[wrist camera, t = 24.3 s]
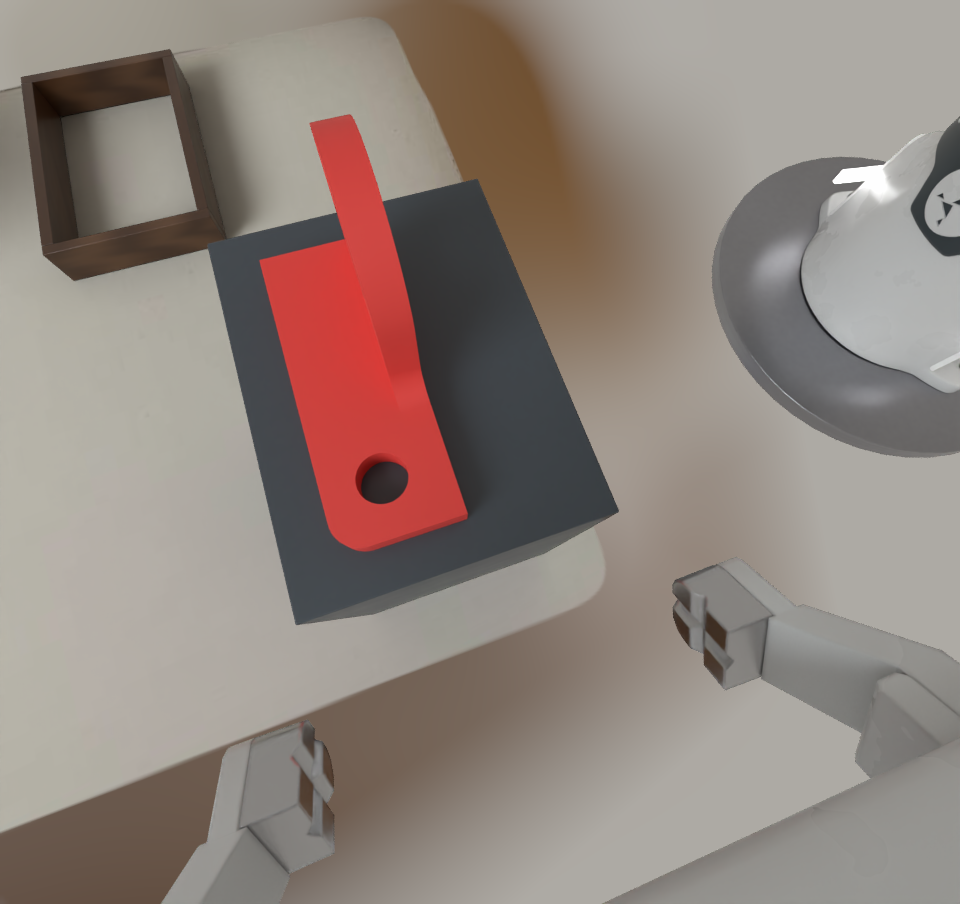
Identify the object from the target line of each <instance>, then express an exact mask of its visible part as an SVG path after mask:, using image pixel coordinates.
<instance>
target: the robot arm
mask: <svg viewBox="0 0 960 904" xmlns="http://www.w3.org/2000/svg"><path fill="white" fill-rule="evenodd" d="M865 180H866V181H865ZM856 181H865V182H864V183H863V184H862V185H861V186H860V187H859V188H858V189H857V190H855V191H845V192H837V193H834V194H832V195H831V196H830V197H829V198H828V199H827V200H825V201H824V202H823V203H822V205H821V208H820V213H819V228H818V230H817V232H816V234H815V235H814V237H813V238H812V240H811V241H810V243H809V244H808V246H807V248H806V250H805V253H804V256H803V260H802V266H801V279H802V285H803V290H804V293H805V296H806V299H807V301H808V303H809V306H810V308H811V309H812V311H813V313H814V314H815V316H816V318H817V319H818V320H819V322H820V323H821V324H822V326H823V327H824V328H825V329H826V330H827V331H828V332H829V333H830V334H831V335H832V336H833V337H834V338H835V339H836V340H837V341H838V342H839V343H841V344H842V345H843V346H845V347H846V348H847V349H849V350H850V351H852V352H853V353H855V354H857V355H859V356H860V357H862V358H864V359H866V360H869V361H871V362H873V363H876V364H879V365H882V366H885V367H889V368H892V369H896V370H900V371H904V372H907V373H910V374H912V375H914V376H916V377H917V378H919V379H920V380H922V381H923V382H925V383H927V384H928V385H930V386H932V387H933V388H935V389H937V390H939V391H942V392H945V393H954V392H956V391H958V390H960V117H959V118H958V119H957V120H956V121H954V123H952V124H951V125H950V126H949V127H948V128H947V130H946V131H936V132H932V133H929V134H924V133H923V134H920V135H918V136H917V137H915V138H914V139H912V140H911V141H910V142H908V143H907V144H906V145H905V146H904V147H903V148H902V149H901V150H899V151H898V152H897V153H896V154H895V155H894V156H893V157H892V158H891V159H890V160H888V161H887V162H886V163H885V164H884V165H883V166H874V167H864V168H855V169H846V170H842V171H841V172H840V173H839V175H838V176H837V177H836V178H835V179H834V180H833V182H834V184H838V183H847V182H856ZM673 594H674V595H675V596H676V597H677V599H678V600H677V601H676V603H675V604H674V606H673V618H674V621H675V624H676V626H677V629H678V631H679V633H680V634H681V636H682V638H683V639H684V640H685V642H686V643H687V644H688V646H689V647H690V648H691V649H694V650H696V651H698V652H700V653H703V654H704V666H705V667H706V668H707V669H708V670H709V672H710V673H711V674H712V675H713V676H714V678H715V679H716V680H717V681H718V683H719V684H720V685H721V686H722V687H723V689H725V690H727V689H730V688H732V687H735V686H738V685H741V684H743V683H746V682H748V681H751V680H754V679H756V678H759V677H761V676H762V677H761V679H763V680H764V681H766V682H768V683H770V684H772V685H773V686H775V687H777V688H779V689H781V690H783V691H784V692H786V693H789V694H790V695H792V696H794V697H796V698H798V699H799V700H801V701H803V702H805V703H807V704H809V705H810V706H812V707H814V708H816V709H818V710H820V711H822V712H823V713H825V714H827V715H829V716H831V717H833V718H834V719H837V720H838V721H840V722H842V723H844V724H846V725H848V726H849V727H851V728H853V729H855V730H857V731H859V732H860V733H861V737H860V740H859V743H858V747H857V750H856V753H855V762H856V763H857V764H858V765H859V766H860V767H861V768H862V770H863V771H864V772H865V773H866V774H867V775H868V776H869V777H870V778H871V779H869V780H867V781H865V782H863V783H860V784H858V785H856V786H854V787H852V788H850V789H847V790H845V791H843V792H841V793H839V794H837V795H835V796H833V797H830V798H828V799H826V800H824V801H822V802H820V803H817V804H815V805H813V806H811V807H809V808H807V809H804V810H802V811H800V812H798V813H796V814H794V815H792V816H789V817H788V818H785V819H783V820H781V821H779V822H777V823H774V824H772V825H770V826H768V827H766V828H764V829H762V830H759V831H758V832H755V833H753V834H751V835H749V836H746V837H744V838H742V839H740V840H738V841H736V842H734V843H732V844H729V845H728V846H725V847H723V848H721V849H719V850H716V851H715V852H712V853H710V854H708V855H706V856H704V857H701V858H699V859H697V860H695V861H693V862H691V863H688V864H686V865H684V866H682V867H680V868H678V869H676V870H674V871H671V872H669V873H667V874H665V875H663V876H661V877H658V878H656V879H654V880H652V881H650V882H648V883H646V884H643V885H641V886H639V887H637V888H635V889H633V890H631V891H629V892H626V893H624V894H622V895H620V896H618V897H615V898H613V899H611V900H609V901H607V902H605V903H603V904H960V663H958V662H957V661H956V660H954V659H953V658H952V657H950V656H949V655H947V654H946V653H945V652H943V651H942V650H939V649H936V648H933V647H930V646H927V645H924V644H921V643H918V642H915V641H911V640H908V639H905V638H903V637H900V636H897V635H894V634H891V633H888V632H885V631H882V630H879V629H876V628H873V627H870V626H867V625H864V624H860V623H858V622H855V621H852V620H849V619H846V618H843V617H840V616H837V615H834V614H831V613H828V612H825V611H822V610H819V609H815V608H813V607H810V606H806V605H800V606H796V605H795V604H794V603H792V602H791V601H790V600H789V599H788V598H786V597H785V596H784V595H783V594H782V593H781V592H779V591H778V590H777V589H776V588H775V587H774V586H772V585H771V584H770V583H769V582H768V581H767V580H765V579H764V578H763V577H762V576H761V575H760V574H758V573H757V572H756V571H755V570H754V569H752V568H751V567H750V566H749V565H748V564H747V563H745V562H744V561H743V560H742V559H740V558H737V557H735V558H732V559H729V560H727V561H724V562H721V563H719V564H716V565H712V566H710V567H707V568H704V569H702V570H699V571H697V572H694V573H692V574H689V575H687V576H684V577H681V578H679V579H677V580H675V581H674V583H673ZM314 734H315V729H314V727H313V726H312V725H311V723H310V722H309V720H305V721H302V722H299V723H296V724H294V725H291V726H288V727H285V728H282V729H279V730H277V731H273V732H270V733H268V734H265V735H262V736H259V737H256V738H253V739H251V740H248V741H245V742H242V743H240V744H237V745H234V746H232V747H229V748H228V749H227V751H226V753H225V755H224V757H223V760H222V766H221V771H220V776H219V781H218V786H217V792H216V798H215V803H214V807H213V813H212V818H211V823H210V829H209V834H208V839H207V843H205V844H202V845H200V846H198V848H197V849H196V851H195V852H194V854H193V855H192V857H191V858H190V860H189V862H188V863H187V865H186V866H185V868H184V869H183V871H182V872H181V874H180V875H179V877H178V878H177V880H176V881H175V883H174V885H173V886H172V888H171V889H170V891H169V892H168V894H167V895H166V897H165V898H164V900H163V901H162V903H161V904H279V902H280V900H281V897H282V895H283V893H284V890H285V888H286V886H287V883H288V881H289V878H290V875H289V873H292V872H294V871H296V870H298V869H300V868H303V867H305V866H307V865H309V864H311V863H314V862H316V861H318V860H321V859H323V858H325V857H327V856H330V855H331V854H334V814H333V812H332V811H331V809H330V808H329V807H328V805H327V803H328V801H329V799H330V797H331V795H332V793H333V791H334V779H333V778H334V777H333V770H332V764H331V759H330V756H329V753H328V750H327V748H326V746H325V745H324V743H323V742H322V741H319V740H315V739H314Z"/></svg>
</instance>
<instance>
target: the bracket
mask: <svg viewBox="0 0 960 904" xmlns="http://www.w3.org/2000/svg"><path fill="white" fill-rule="evenodd" d="M310 127H311V130H312V133H313V137H314V140H315V143H316V147H317V150H318V153H319V157H320V160H321V163H322V166H323V170H324V173H325V176H326V179H327V183H328V186H329V189H330V192H331V196H332V199H333V202H334V205H335V209H336V212H337V215H338V218H339V222H340V225H341V228H342V231H343V235H344V238H345V239H343V240H339V241H335V242H331V243H327V244H323V245H319V246H315V247H311V248H307V249H303V250H299V251H294V252H290V253H286V254H282V255H278V256H274V257H270V258H266V259H262V260H259V261H260V265H261V269H262V273H263V277H264V280H265V284H266V288H267V292H268V296H269V300H270V304H271V307H272V311H273V315H274V319H275V323H276V327H277V331H278V335H279V338H280V342H281V346H282V350H283V354H284V358H285V362H286V365H287V369H288V373H289V377H290V381H291V385H292V389H293V392H294V396H295V400H296V404H297V408H298V412H299V416H300V419H301V423H302V427H303V431H304V435H305V439H306V443H307V446H308V450H309V454H310V458H311V462H312V466H313V470H314V473H315V477H316V481H317V485H318V489H319V493H320V497H321V500H322V504H323V508H324V512H325V516H326V520H327V524H328V527H329V529H330V532H331V533H332V535H333V536H334V537H335V538H336V539H337V540H338V541H339V542H340V543H342V544H344V545H346V546H348V547H350V548H351V549H354V550H357V551H364V552H366V551H373V550H376V549H379V548H382V547H385V546H388V545H391V544H394V543H397V542H400V541H403V540H406V539H409V538H412V537H415V536H418V535H421V534H424V533H427V532H430V531H433V530H436V529H439V528H442V527H445V526H448V525H451V524H454V523H457V522H460V521H463V520H466V519H467V516H468V513H467V510H466V507H465V504H464V501H463V498H462V495H461V492H460V489H459V486H458V483H457V480H456V477H455V474H454V471H453V468H452V466H451V463H450V460H449V457H448V454H447V451H446V448H445V445H444V442H443V439H442V436H441V433H440V430H439V427H438V424H437V421H436V418H435V415H434V412H433V409H432V406H431V403H430V400H429V397H428V394H427V391H426V387H425V384H424V380H423V376H422V372H421V367H420V360H419V354H418V347H417V341H416V334H415V328H414V323H413V317H412V313H411V308H410V303H409V299H408V294H407V290H406V286H405V282H404V278H403V274H402V270H401V266H400V262H399V258H398V255H397V251H396V247H395V244H394V240H393V236H392V233H391V229H390V226H389V222H388V219H387V215H386V212H385V208H384V205H383V202H382V198H381V195H380V192H379V188H378V185H377V182H376V179H375V176H374V173H373V170H372V166H371V163H370V160H369V157H368V154H367V152H366V149H365V146H364V143H363V140H362V138H361V135H360V133H359V130H358V128H357V125H356V123H355V121H354V119H353V117H352V116H351V115H350V114H349V115H344V116H339V117H335V118H330V119H325V120H321V121H316V122H311V123H310ZM381 462H394V463H397V464H399V465H401V466H402V467H403V468H404V469H405V470H406V471H407V472H408V484H407V487H406V489H405V491H404V492H403V494H402V495H401V496H400V497H399V498H398V499H396V500H395V501H393V502H390V503H387V504H374V503H371V502H369V501H367V500H366V499H364V497H363V495H362V490H361V484H362V479H363V477H364V475H365V473H366V472H367V471H368V470H369V469H370V468H371V467H372V466H374V465H376V464H378V463H381Z"/></svg>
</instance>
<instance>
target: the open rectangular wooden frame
mask: <svg viewBox="0 0 960 904" xmlns="http://www.w3.org/2000/svg"><path fill="white" fill-rule="evenodd" d="M21 83H22V84H21V85H22V93H23V101H24V109H25V117H26V125H27V133H28V141H29V149H30V157H31V165H32V173H33V181H34V189H35V197H36V205H37V213H38V221H39V229H40V237H41V245H42V251H43V255H44V256H45V257H46V258H47V259H48V260H50V261H51V262H52V263H53V264H54V265H55V266H57V267H58V268H59V269H60V270H61V271H63V272H64V273H65V274H66V275H67V276H69V277H70V278H71V279H72V280H74V281H75V280H79V279H83V278H88V277H92V276H96V275H100V274H104V273H108V272H112V271H116V270H121V269H125V268H129V267H133V266H137V265H141V264H145V263H149V262H153V261H158V260H162V259H166V258H170V257H174V256H178V255H182V254H186V253H191V252H195V251H199V250H203V249H207V248H208V244H209V243H213V242H217V241H221V240H226V236H225V231H224V227H223V223H222V219H221V215H220V211H219V207H218V203H217V199H216V195H215V191H214V187H213V183H212V179H211V174H210V170H209V166H208V162H207V158H206V154H205V150H204V146H203V142H202V138H201V134H200V130H199V126H198V122H197V118H196V113H195V109H194V105H193V101H192V97H191V93H190V89H189V85H188V83H187V81H186V79H185V77H184V75H183V73H182V71H181V69H180V67H179V65H178V63H177V61H176V60H175V58H174V56H173V54H172V52H171V50H170V49H168V50H163V51H158V52H152V53H147V54H142V55H136V56H131V57H126V58H121V59H115V60H110V61H105V62H99V63H94V64H88V65H83V66H78V67H72V68H68V69H62V70H56V71H51V72H46V73H40V74H36V75H30V76H24V77H21ZM166 95H171V98H172V103H173V107H174V111H175V116H176V120H177V124H178V129H179V133H180V137H181V142H182V146H183V150H184V155H185V159H186V163H187V168H188V172H189V176H190V181H191V185H192V189H193V194H194V198H195V202H196V207H197V211H193V212H189V213H184V214H180V215H176V216H171V217H167V218H163V219H158V220H154V221H150V222H145V223H141V224H137V225H132V226H128V227H124V228H120V229H115V230H111V231H107V232H102V233H98V234H94V235H89V236H85V237H81V238H78V233H77V226H76V219H75V213H74V206H73V199H72V193H71V186H70V179H69V173H68V166H67V159H66V153H65V146H64V139H63V132H62V126H61V119H60V117H61V116H66V115H71V114H76V113H81V112H86V111H91V110H96V109H101V108H106V107H111V106H116V105H121V104H126V103H131V102H136V101H141V100H146V99H151V98H156V97H161V96H166Z"/></svg>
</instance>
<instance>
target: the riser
mask: <svg viewBox="0 0 960 904" xmlns="http://www.w3.org/2000/svg"><path fill="white" fill-rule="evenodd" d="M383 205H384V208H385V212H386V215H387V219H388V222H389V226H390V229H391V233H392V236H393V240H394V244H395V247H396V251H397V255H398V258H399V262H400V266H401V270H402V274H403V278H404V282H405V286H406V290H407V294H408V299H409V303H410V308H411V313H412V317H413V323H414V328H415V334H416V341H417V347H418V354H419V360H420V367H421V372H422V376H423V380H424V384H425V387H426V391H427V394H428V397H429V400H430V403H431V406H432V409H433V412H434V415H435V418H436V421H437V424H438V427H439V430H440V433H441V436H442V439H443V442H444V445H445V448H446V451H447V454H448V457H449V460H450V463H451V466H452V468H453V471H454V474H455V477H456V480H457V483H458V486H459V489H460V492H461V495H462V498H463V501H464V504H465V507H466V510H467V513H468V516H467V519H466V520H463V521H460V522H457V523H454V524H451V525H448V526H445V527H442V528H439V529H436V530H433V531H430V532H427V533H424V534H421V535H418V536H415V537H412V538H409V539H406V540H403V541H400V542H397V543H394V544H391V545H388V546H385V547H382V548H379V549H376V550H373V551H366V552H364V551H357V550H354V549H351V548H350V547H348V546H346V545H344V544H342V543H340V542H339V541H338V540H337V539H336V538H335V537H334V536H333V535H332V533H331V532H330V529H329V527H328V524H327V520H326V516H325V512H324V508H323V504H322V500H321V497H320V493H319V489H318V485H317V481H316V477H315V473H314V470H313V466H312V462H311V458H310V454H309V450H308V446H307V443H306V439H305V435H304V431H303V427H302V423H301V419H300V416H299V412H298V408H297V404H296V400H295V396H294V392H293V389H292V385H291V381H290V377H289V373H288V369H287V365H286V362H285V358H284V354H283V350H282V346H281V342H280V338H279V335H278V331H277V327H276V323H275V319H274V315H273V311H272V307H271V304H270V300H269V296H268V292H267V288H266V284H265V280H264V277H263V273H262V269H261V265H260V261H259V260H262V259H266V258H270V257H274V256H278V255H282V254H286V253H290V252H294V251H299V250H303V249H307V248H311V247H315V246H319V245H323V244H327V243H331V242H335V241H339V240H343V239H345V238H344V235H343V231H342V228H341V225H340V222H339V218H338V215H337V213H333V214H329V215H325V216H321V217H317V218H313V219H308V220H304V221H300V222H296V223H292V224H288V225H284V226H279V227H275V228H271V229H267V230H263V231H259V232H255V233H250V234H246V235H242V236H238V237H234V238H230V239H226V240H221V241H217V242H213V243H209V244H208V250H209V254H210V258H211V262H212V267H213V271H214V275H215V280H216V284H217V288H218V293H219V297H220V301H221V305H222V310H223V314H224V318H225V323H226V327H227V331H228V336H229V340H230V344H231V348H232V353H233V357H234V361H235V366H236V370H237V374H238V379H239V383H240V387H241V391H242V396H243V400H244V404H245V409H246V413H247V417H248V422H249V426H250V430H251V434H252V439H253V443H254V447H255V452H256V456H257V460H258V464H259V469H260V473H261V477H262V482H263V486H264V490H265V495H266V499H267V503H268V507H269V512H270V516H271V520H272V525H273V529H274V533H275V538H276V542H277V546H278V550H279V555H280V559H281V563H282V568H283V572H284V576H285V581H286V585H287V589H288V593H289V598H290V602H291V606H292V611H293V615H294V619H295V624H296V625H300V624H307V623H315V622H322V621H329V620H336V619H343V618H350V617H357V616H364V615H372V614H375V613H378V612H381V611H384V610H387V609H389V608H392V607H395V606H398V605H401V604H404V603H406V602H409V601H412V600H415V599H418V598H420V597H423V596H426V595H429V594H432V593H434V592H437V591H440V590H443V589H446V588H448V587H451V586H454V585H457V584H460V583H463V582H465V581H468V580H471V579H474V578H477V577H479V576H482V575H485V574H488V573H491V572H493V571H496V570H499V569H502V568H505V567H508V566H510V565H513V564H516V563H519V562H522V561H524V560H527V559H530V558H533V557H536V556H538V555H541V554H544V553H546V552H548V551H550V550H552V549H553V548H555V547H557V546H559V545H560V544H562V543H564V542H566V541H568V540H569V539H571V538H573V537H575V536H577V535H578V534H580V533H582V532H584V531H585V530H587V529H589V528H591V527H593V526H594V525H596V524H598V523H600V522H601V521H603V520H605V519H607V518H609V517H610V516H612V515H614V514H616V513H618V512H619V510H618V508H617V505H616V503H615V501H614V498H613V496H612V493H611V491H610V489H609V486H608V484H607V482H606V479H605V477H604V475H603V472H602V470H601V468H600V465H599V463H598V461H597V458H596V456H595V454H594V451H593V449H592V447H591V444H590V442H589V439H588V437H587V435H586V433H585V430H584V428H583V425H582V423H581V421H580V418H579V416H578V414H577V411H576V409H575V407H574V404H573V402H572V400H571V397H570V395H569V393H568V390H567V388H566V386H565V383H564V381H563V378H562V376H561V374H560V372H559V369H558V367H557V364H556V362H555V360H554V357H553V355H552V353H551V350H550V348H549V346H548V343H547V341H546V339H545V336H544V334H543V332H542V329H541V327H540V324H539V322H538V320H537V317H536V315H535V313H534V311H533V308H532V306H531V303H530V301H529V299H528V297H527V294H526V292H525V289H524V287H523V285H522V282H521V280H520V278H519V275H518V273H517V270H516V268H515V266H514V263H513V261H512V259H511V256H510V254H509V252H508V249H507V247H506V245H505V242H504V240H503V238H502V235H501V233H500V231H499V228H498V226H497V224H496V221H495V219H494V217H493V214H492V212H491V210H490V208H489V205H488V203H487V200H486V198H485V196H484V193H483V191H482V188H481V186H480V184H479V181H478V179H474V180H470V181H466V182H462V183H458V184H453V185H449V186H445V187H441V188H437V189H433V190H429V191H424V192H420V193H416V194H412V195H408V196H404V197H400V198H395V199H391V200H387V201H383ZM407 484H408V472H407V471H406V470H405V469H404V468H403V467H402V466H401V465H399V464H397V463H394V462H381V463H378V464H376V465H374V466H372V467H371V468H370V469H369V470H368V471H367V472H366V473H365V475H364V477H363V479H362V484H361V490H362V495H363V497H364V499H366V500H367V501H369V502H371V503H374V504H387V503H390V502H393V501H395V500H396V499H398V498H399V497H400V496H401V495H402V494H403V492H404V491H405V489H406V487H407Z"/></svg>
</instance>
